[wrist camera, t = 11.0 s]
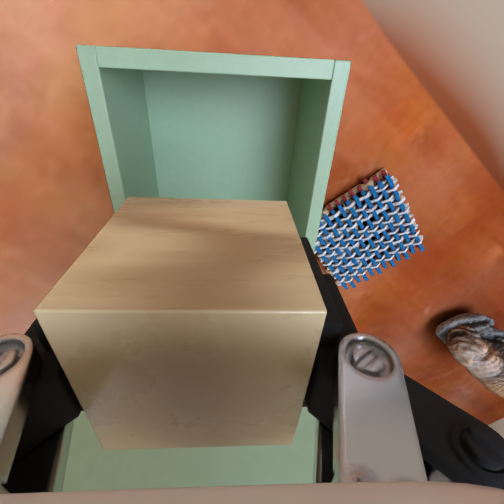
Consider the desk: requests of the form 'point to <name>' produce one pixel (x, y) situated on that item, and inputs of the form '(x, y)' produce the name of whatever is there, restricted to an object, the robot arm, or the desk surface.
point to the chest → (216, 125)
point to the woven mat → (366, 230)
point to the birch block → (189, 324)
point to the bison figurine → (476, 347)
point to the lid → (187, 463)
